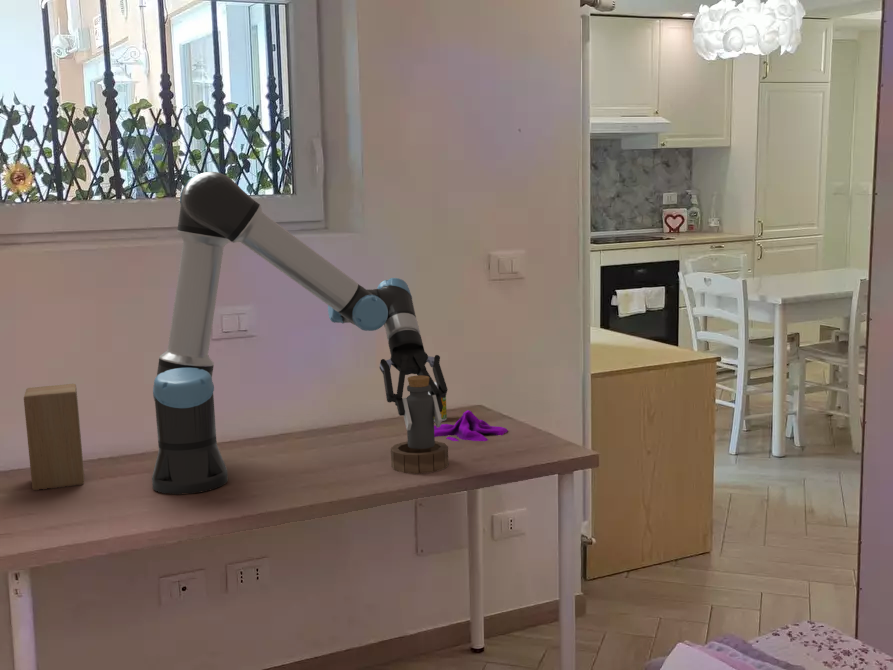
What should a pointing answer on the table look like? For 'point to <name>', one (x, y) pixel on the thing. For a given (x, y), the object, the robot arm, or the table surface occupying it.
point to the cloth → (468, 429)
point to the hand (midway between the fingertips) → (424, 425)
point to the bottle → (420, 413)
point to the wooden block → (54, 436)
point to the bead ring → (419, 458)
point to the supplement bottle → (444, 412)
